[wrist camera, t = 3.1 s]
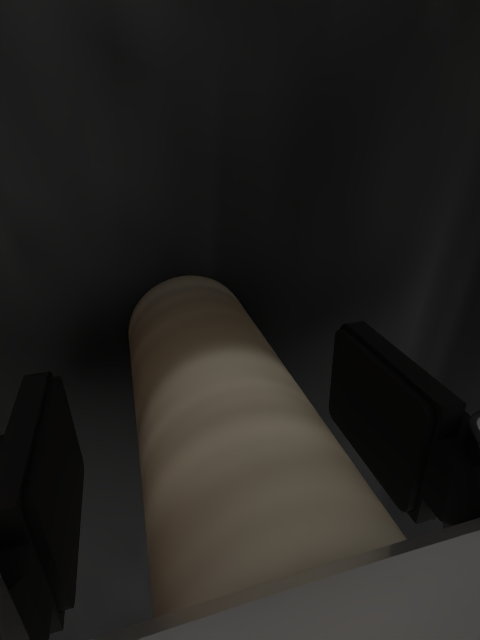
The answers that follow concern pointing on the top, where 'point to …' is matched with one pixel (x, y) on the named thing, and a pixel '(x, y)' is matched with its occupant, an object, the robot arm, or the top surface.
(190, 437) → the peg
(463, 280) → the top surface
